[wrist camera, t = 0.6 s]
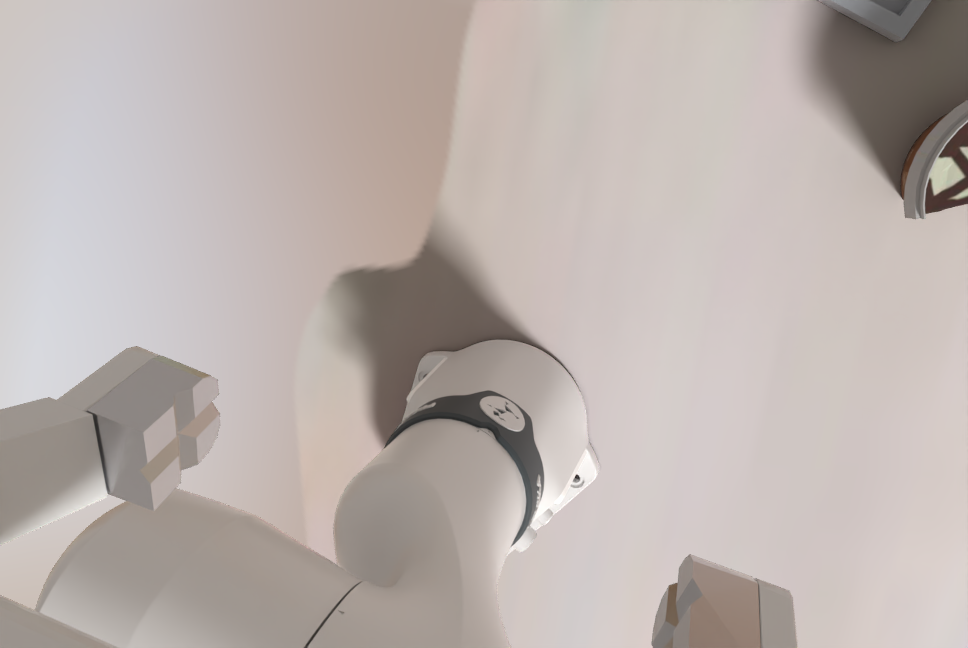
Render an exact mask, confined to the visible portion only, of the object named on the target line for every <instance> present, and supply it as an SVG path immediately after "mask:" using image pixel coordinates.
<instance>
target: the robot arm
mask: <svg viewBox="0 0 968 648" xmlns="http://www.w3.org/2000/svg"><path fill="white" fill-rule="evenodd" d="M426 374H428V375H427V376H426ZM218 395H219V389H218V380H217V379H216V378H214V377H212V376H211V375H208V374H206V373H203V372H200V371H198V370H196V369H193V368H191V367H188V366H186V365H183V364H181V363H179V362H176V361H173V360H171V359H168V358H166V357H164V356H160V355H158V354H155V353H153V352H150V351H148V350H145V349H143V348H140V347H137V346H136V347H131V348H127V349H125V350H124V351H122V352H121V353H120V354H118V355H117V356H116V357H114V358H113V359H112V360H110V361H109V362H108V363H106V364H105V365H104V366H102V367H101V368H99V369H98V370H97V371H95V372H94V373H93V374H91V375H90V376H89V377H87V378H86V379H85V380H83V381H82V382H80V383H79V384H78V385H76V386H75V387H74V388H72V389H71V390H70V391H68V392H67V393H66V394H64V395H63V396H62V397H60V398H59V399H57V400H55V399H52V398H49V397H48V398H44V399H40V400H36V401H32V402H28V403H24V404H20V405H17V406H13V407H9V408H5V409H1V410H0V546H1V545H3V544H5V543H8V542H9V541H12V540H14V539H16V538H19V537H21V536H23V535H25V534H27V533H30V532H32V531H34V530H36V529H38V528H41V527H43V526H45V525H47V524H49V523H52V522H54V521H56V520H58V519H60V518H62V517H65V516H67V515H69V514H71V513H74V512H76V511H78V510H80V509H82V508H84V507H87V506H89V505H91V504H93V503H95V502H97V501H100V500H102V499H104V498H106V497H108V494H110V495H112V496H115V497H118V498H120V499H123V500H126V502H124V503H122V504H120V505H118V506H117V507H115V508H113V509H111V510H110V511H108V512H106V513H105V514H103V515H102V516H101V517H99V518H98V519H97V520H95V521H94V522H93V523H92V524H90V525H89V526H88V527H87V528H86V529H85V530H84V531H83V532H82V533H81V534H80V535H79V536H78V537H77V538H76V539H75V540H74V541H73V542H72V543H71V544H70V545H69V547H68V548H67V549H66V550H65V552H64V553H63V554H62V556H61V557H60V558H59V560H58V561H57V563H56V564H55V566H54V567H53V569H52V571H51V572H50V574H49V576H48V578H47V580H46V582H45V584H44V586H43V589H42V591H41V594H40V596H39V599H38V602H37V605H36V609H35V610H33V609H31V608H28V607H26V606H24V605H22V604H19V603H17V602H15V601H13V600H11V599H8V598H6V597H4V596H2V595H0V648H511V646H510V643H509V641H508V638H507V635H506V632H505V629H504V625H503V622H502V618H501V614H500V609H499V604H498V596H497V585H498V580H499V577H500V574H501V571H502V568H503V565H504V562H505V560H506V557H507V555H508V554H509V553H510V552H512V551H513V550H514V549H516V550H517V551H518V552H521V553H522V552H524V551H525V550H526V549H527V548H528V547H529V546H530V545H531V543H532V542H533V541H534V539H535V538H536V536H537V533H536V530H537V529H538V528H539V527H540V526H542V525H543V526H544V525H545V524H547V523H548V522H549V520H550V519H551V518H552V516H553V515H554V514H555V513H557V512H558V511H559V510H560V509H561V508H562V507H564V506H565V505H566V504H567V503H568V502H569V501H571V500H572V499H573V498H574V497H575V496H576V495H577V494H579V493H580V492H581V491H582V490H583V489H584V488H586V487H587V486H588V485H589V484H590V483H591V482H592V481H593V480H594V479H595V478H596V476H597V475H598V473H599V469H600V468H599V462H598V459H597V457H596V455H595V453H594V450H593V448H592V446H591V444H590V443H589V439H588V432H587V414H586V408H585V404H584V401H583V398H582V395H581V393H580V391H579V389H578V387H577V385H576V383H575V382H574V380H573V379H572V377H571V376H570V374H569V373H568V372H567V371H566V370H565V369H564V368H563V366H562V365H561V364H559V363H558V362H557V361H556V360H555V359H554V358H552V357H551V356H549V355H548V354H547V353H545V352H543V351H542V350H540V349H538V348H536V347H533V346H531V345H528V344H525V343H522V342H518V341H512V340H489V341H484V342H480V343H477V344H474V345H472V346H469V347H467V348H465V349H462V350H459V351H455V352H450V351H434V352H429V353H427V354H426V355H425V356H424V357H423V358H422V359H421V360H420V362H419V365H418V368H417V372H416V375H415V379H414V382H413V385H412V389H411V392H410V393H409V395H408V397H407V399H406V400H407V406H406V409H405V413H404V416H403V419H402V422H401V423H400V424H399V426H398V427H397V428H396V430H395V431H394V433H393V434H392V435H391V437H390V438H389V440H388V441H387V443H386V446H385V448H384V449H383V450H382V451H381V452H380V453H379V454H378V455H377V456H376V457H375V458H374V459H373V460H372V461H371V462H370V463H369V464H367V465H366V466H365V467H364V468H363V469H362V470H361V471H360V472H359V473H358V474H357V475H356V476H355V477H354V478H353V479H352V480H351V481H350V482H349V484H348V485H347V487H346V488H345V490H344V492H343V494H342V496H341V497H340V500H339V502H338V505H337V508H336V512H335V517H334V524H333V536H334V547H335V554H336V561H337V565H336V564H335V563H333V562H332V561H330V560H328V559H327V558H325V557H323V556H322V555H320V554H319V553H317V552H315V551H314V550H312V549H310V548H309V547H307V546H306V545H304V544H302V543H300V542H299V541H297V540H296V539H294V538H292V537H291V536H289V535H287V534H286V533H284V532H283V531H281V530H279V529H278V528H276V527H275V526H273V525H271V524H270V523H268V522H266V521H265V520H263V519H261V518H260V517H258V516H256V515H253V514H251V513H248V512H245V511H243V510H240V509H237V508H234V507H231V506H229V505H226V504H223V503H221V502H218V501H215V500H212V499H209V498H206V497H202V496H199V495H196V494H193V493H190V492H187V491H184V490H180V489H177V488H176V487H177V486H178V485H179V484H180V483H181V470H184V469H186V468H189V467H192V466H195V465H198V464H199V463H200V462H201V461H202V459H203V458H204V457H205V456H206V455H207V454H208V453H209V451H210V449H211V448H212V446H213V444H214V442H215V440H216V438H217V436H218V431H219V427H220V413H219V412H218V410H217V409H216V407H215V406H214V404H213V402H212V401H213V400H214V399H215V398H216V397H217V396H218ZM576 474H577V475H579V477H580V479H575V476H576ZM652 646H653V648H798V646H797V636H796V625H795V615H794V604H793V597H792V595H791V593H790V591H789V590H786V589H783V588H781V587H778V586H775V585H772V584H770V583H767V582H764V581H762V580H759V579H756V578H755V579H754V578H753V577H752V576H749V575H746V574H743V573H740V572H738V571H735V570H732V569H729V568H727V567H724V566H721V565H718V564H716V563H713V562H710V561H707V560H705V559H702V558H699V557H696V556H694V555H691V554H690V555H689V556H687V557H686V558H685V559H684V561H683V563H682V564H681V566H680V568H679V574H678V583H675V584H672V585H669V586H668V588H667V590H666V592H665V594H664V596H663V598H662V600H661V603H660V605H659V608H658V611H657V614H656V618H655V623H654V628H653V636H652Z"/></svg>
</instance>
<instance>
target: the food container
mask: <svg viewBox="0 0 968 648" xmlns="http://www.w3.org/2000/svg"><path fill="white" fill-rule="evenodd" d="M901 195H902V199H903V200H904V212H905V218H912V219H918V218H922V219H926V215H925V214H928V213H932V212H938V211H941V210H944V209H948V208H952V207H955V206H960V205H964V204H968V100H966V101H965V102H963V103H962V104H960V105H959V106H957V107H956V108H954V109H953V110H952V111H951V112H950V113H948V114H946V115H944V116H943V117H941V118H940V119H938V120H937V121H936V122H934V123H933V124H932V125H931V126H929V127H928V128H927V129H926V130H925V131H924V132H923V133H922V134H921V135H920V137H919V138H918V139H917V140H916V142H915V143H914V145H913V146H912V148H911V150H910V151H909V153H908V155H907V158H906V160H905V163H904V166H903V170H902V174H901Z"/></svg>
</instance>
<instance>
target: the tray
mask: <svg viewBox="0 0 968 648" xmlns="http://www.w3.org/2000/svg"><path fill="white" fill-rule="evenodd" d="M818 1H819V2H821V3H823V4H825V5H827V6H829V7H831V8H833V9H834V10H836V11H838V12H840V13H842V14H844V15H846V16H848V17H849V18H851V19H853V20H855V21H857V22H859V23H861V24H862V25H864V26H866V27H868V28H870V29H872V30H874V31H876V32H877V33H879V34H881V35H883V36H885V37H887V38H889V39H891V40H892V41H894V42H896V43H897V42H899V41H901V40H903V39H904V38H905V36H906V35H907V34H908V32H909V31H910V30H911V28H912V27H913V25H914V24H915V23H916V21H917V20H918V19H919V17H920V16H921V14H922V13H923V12H924V10H925V9H926V8H927V6H928V5H929V3H930V2H931V1H932V0H818Z"/></svg>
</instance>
